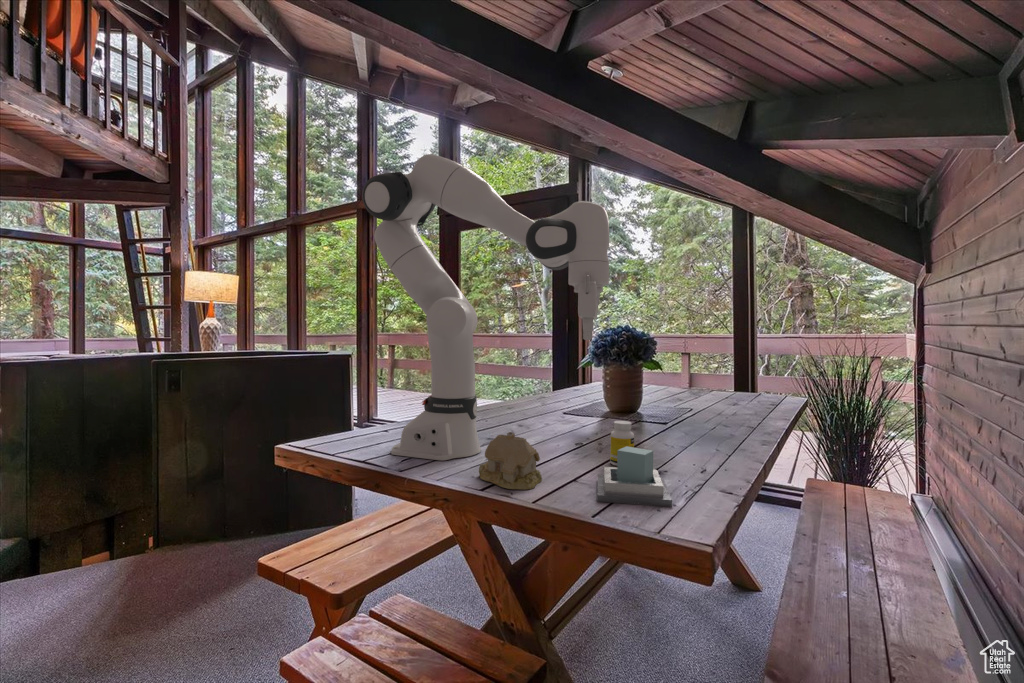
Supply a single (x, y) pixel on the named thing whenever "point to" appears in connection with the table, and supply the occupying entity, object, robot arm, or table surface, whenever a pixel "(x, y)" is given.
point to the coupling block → (635, 465)
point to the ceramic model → (511, 463)
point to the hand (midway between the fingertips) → (587, 339)
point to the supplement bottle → (620, 439)
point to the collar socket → (632, 490)
